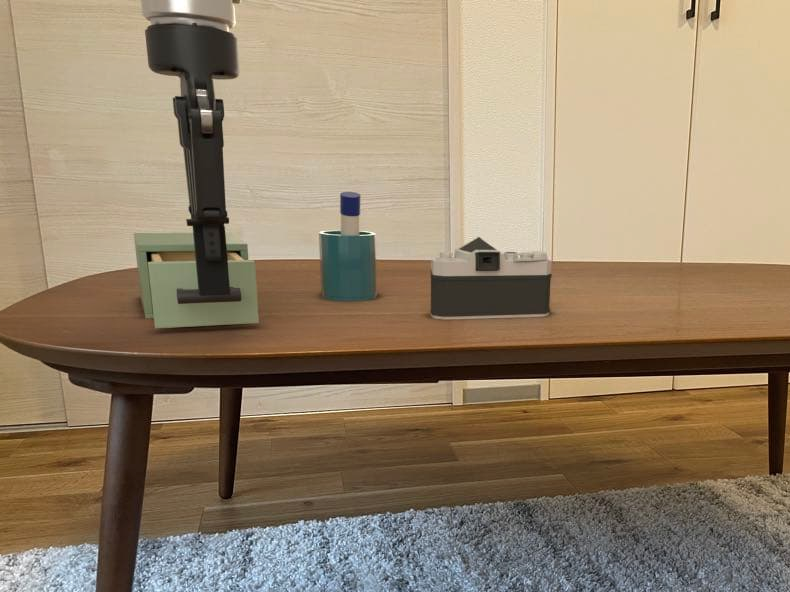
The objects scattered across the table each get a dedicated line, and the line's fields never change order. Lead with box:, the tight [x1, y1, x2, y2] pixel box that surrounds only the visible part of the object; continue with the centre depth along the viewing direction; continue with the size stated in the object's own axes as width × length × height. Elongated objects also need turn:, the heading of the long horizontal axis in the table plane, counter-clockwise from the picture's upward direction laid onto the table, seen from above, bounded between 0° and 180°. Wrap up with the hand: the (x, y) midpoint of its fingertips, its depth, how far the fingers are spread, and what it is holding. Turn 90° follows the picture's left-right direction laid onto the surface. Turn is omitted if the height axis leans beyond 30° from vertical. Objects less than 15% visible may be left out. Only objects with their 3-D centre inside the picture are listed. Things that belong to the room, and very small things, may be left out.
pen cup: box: [318, 230, 378, 302], centre depth 107 cm, size 7×7×9 cm
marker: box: [339, 191, 362, 235], centre depth 104 cm, size 3×3×14 cm
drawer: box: [148, 251, 260, 329], centre depth 86 cm, size 17×10×7 cm, turn 28°
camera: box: [430, 236, 553, 320], centre depth 100 cm, size 16×9×10 cm, turn 111°
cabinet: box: [133, 232, 249, 319], centre depth 96 cm, size 14×12×9 cm
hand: (214, 293), depth 75 cm, fingers closed
